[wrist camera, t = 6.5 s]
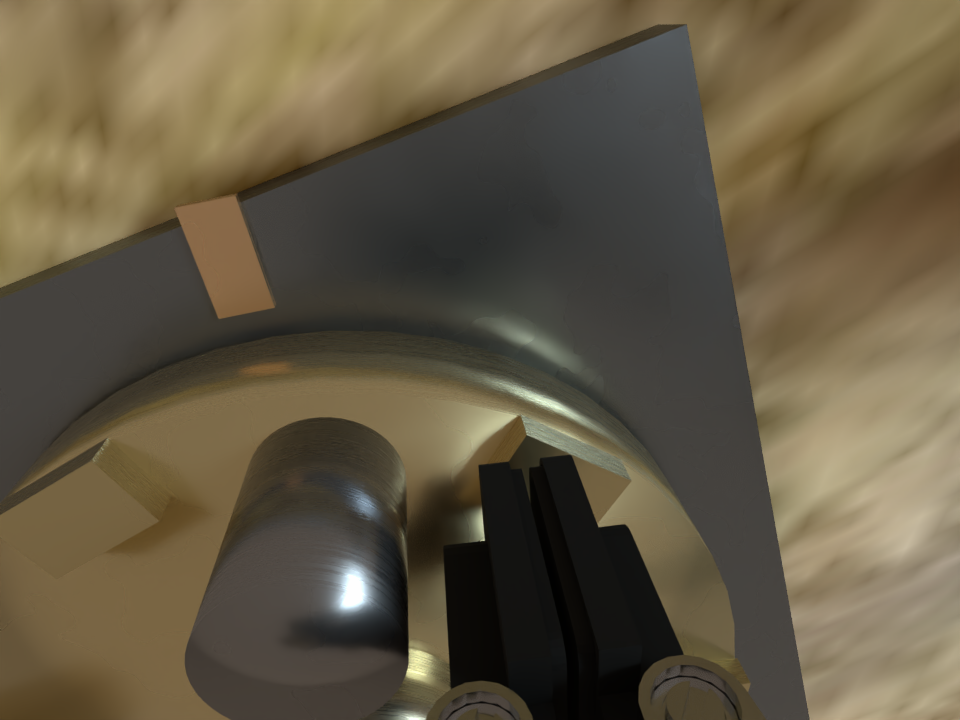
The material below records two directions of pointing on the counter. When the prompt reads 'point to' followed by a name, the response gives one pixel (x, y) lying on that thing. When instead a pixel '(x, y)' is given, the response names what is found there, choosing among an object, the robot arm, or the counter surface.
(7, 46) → the counter surface
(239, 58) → the counter surface
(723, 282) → the cap plate
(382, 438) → the notched gold disc
